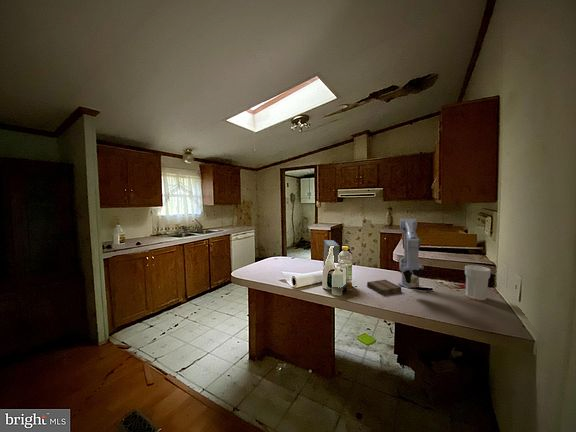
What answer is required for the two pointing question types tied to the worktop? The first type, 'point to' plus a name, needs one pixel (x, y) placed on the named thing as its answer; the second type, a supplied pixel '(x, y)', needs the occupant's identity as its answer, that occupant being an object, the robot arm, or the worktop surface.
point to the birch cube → (413, 281)
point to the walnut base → (384, 287)
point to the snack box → (326, 249)
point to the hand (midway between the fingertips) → (411, 282)
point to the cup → (477, 282)
